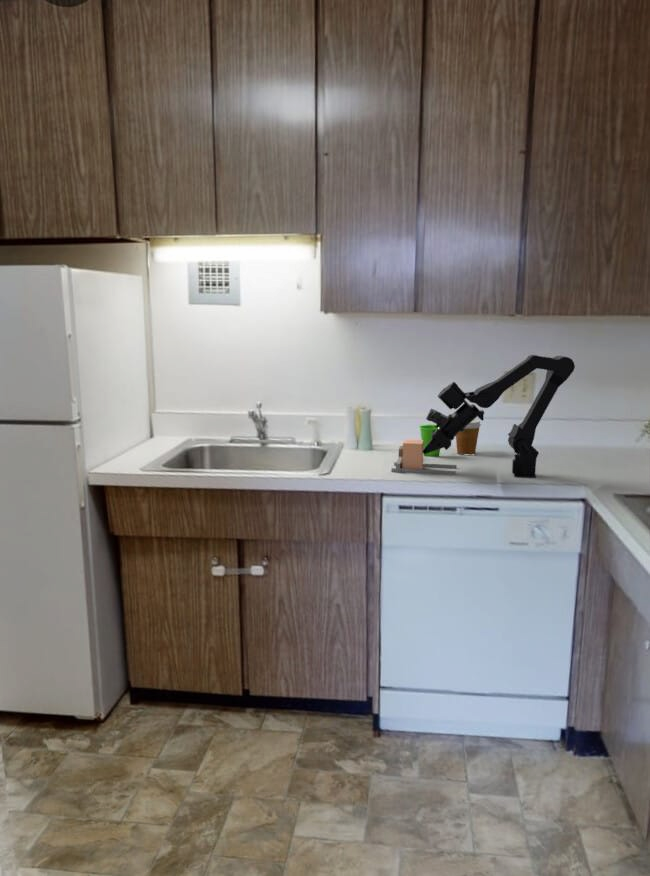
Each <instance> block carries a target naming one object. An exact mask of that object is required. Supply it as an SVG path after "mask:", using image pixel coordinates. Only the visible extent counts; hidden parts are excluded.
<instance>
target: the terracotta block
mask: <svg viewBox="0 0 650 876" xmlns="http://www.w3.org/2000/svg"><path fill="white" fill-rule="evenodd" d="M402 446H403V466H402V468H401V469H423V468H424V467H423V463H424V454H423V440H422V439H404V440H403V443H402ZM423 470H424V469H423Z"/></svg>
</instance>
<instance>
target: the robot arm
mask: <svg viewBox="0 0 650 876" xmlns="http://www.w3.org/2000/svg"><path fill="white" fill-rule="evenodd" d="M575 368H576V366H575V362H574V360H573V359H572V358H571V357H568V356H564V355H556V356H553V357H549V356H541V355H537V354H530V355H528V356H527V357H526V358H525V359H524V360H523V361H521V362H520V363H518V364H517V365H516V366H514V367H513V368H512V369H510V370H508V371H507V372H506V373H504V374H503V375H501V376H500V377H498V378H497V379H496V380H494V381H491V382H489V383H485V384H484V385H482V386H480V387H478V388H476V389H475V390H474V391H467V392H464V391H463V390H462V389H461V387H459V386H458V384H457V383H456V382H455V381H452V382H451V383H450V384H448V385H447V386H446V387H444V388H443V389H442V390H440V391H439V393H438V395H437V397H438V399H439V400H440V401H442V403H443V404H444V405H445V406H446V407H447V408H448V409H449V410H452V409H454V410H455V411H454V412H453V413H451V414H450V413H449V414H448V415H445V414H443V413H441V411H438V410H435V409H433V408H430V410H429V411H428V413H427V416H426V418H425V419H426V421H428V422H432V423H434V425H435V427H436V428H438V429H437V430H436V431H435V430H433V433H432V439H431V440H430V442H429V443H428V444H427V446H426V447H425V448H424V450H423V453H424V454H426V453H429V452H432V451H435V450H438V449H440V450H441V449H445V450H446V451H447V450H448V449H449V448H450V447H451V446H452V441H453V440H454V439H455V438H456V435H457V434H458V433H460V432H462V431H463V430H464V428H465V427H466V426H467V425H468V424H470V423H471V422H472V421H473V420H474V419H475V420H476V418H478V419H479V420H480V421H482V422H483V421H484V420H485V419H484V415H485V410H483V409H489V408H490V407H492V405H494V403H496V402H497V400H499V399H500V398H501V396H502V395H503V393H504V392H506V391H507V390H508V389H509V388H511V387H512V386H514V385H515V384H517V383H518V382H520V380H522V379H524V378H525V377H526V376H528V375H529V374H531V373H533V372H534V371H535V370H537V369H538V370H539V369H540V370H545V371H546V373H545V374H546V375H545V378H544V379H545V380H544V382H543V384H542V386H541V388H540V389H539V391H538V393H537V394H536V397H535V398H534V400H533V403H532V404H531V405H530V408H529V410H528V412H527V413H526V415H525V417H524V418H523V420H522V421H521V423H520V424H518V425H517V424H516V423H514V424H513V425H512V428H511V430H510V431H509V433H508V434H507V435H508V439H507V442H508V445H509V447H510V448H512V449H513V451H514V453H515V454H514V458H513V459H512V463H511V472H512V474H513V477H515V478H520V477H521V478H537V475H536V474H537V473H536V472H537V470H536V468H537V467H536V466H537V458H538V455H539V451H538V450H537V449H536V448H535V447H534V446H533V443H534V440H535V436H536V435H535V434H536V428H537V426H539V423H540V422H541V420H542V417H543V416H544V414H545V412H547V411H546V410H547V409H548V407H549V406H550V403H551V401H552V400H553V398H554V396H555V394H556V393H557V391H558V389H559V387H561V385H563V384H564V383H565V382H566V381H567V380H568V379H569V378H570V376H571V375H572V374H573V372H574V370H575ZM466 400H467V401H466ZM468 401H469V402H468ZM470 403H472V404H470ZM475 404H476V405H475ZM477 406H478V407H480V408H481V409H479V408H478V407H477ZM424 454H423V455H424Z"/></svg>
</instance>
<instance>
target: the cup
mask: <svg viewBox="0 0 650 876" xmlns="http://www.w3.org/2000/svg"><path fill="white" fill-rule="evenodd" d="M435 425H436V424H421V425H419V427H418V428H419V430H420V437H421V438H420V440H423V450H424V448H425V447H426V446H427V444H428V443H429V442H430V440H431V439H432V433H433V430H435V431H436V430H437V429H438V428H436V427H435ZM440 452H441V449H438V450H435V451H432V452H429V453H426V454H424V453H423V457H431V458H432V457H433V458H434V457H435V458H439V457H440V454H441V453H440Z"/></svg>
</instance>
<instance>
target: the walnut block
mask: <svg viewBox="0 0 650 876" xmlns="http://www.w3.org/2000/svg"><path fill="white" fill-rule="evenodd" d="M399 457H403V445H400V446H399V447H398V458H399Z"/></svg>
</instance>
